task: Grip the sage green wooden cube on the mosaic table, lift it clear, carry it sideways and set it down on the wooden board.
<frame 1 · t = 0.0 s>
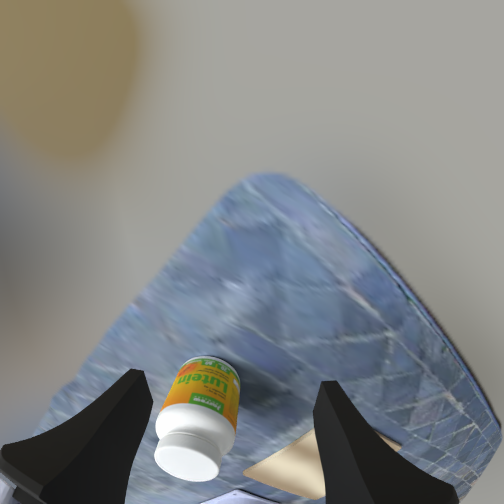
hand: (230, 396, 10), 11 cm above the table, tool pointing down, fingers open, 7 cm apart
wooden board: (325, 463, 24), on the table
supplement bottle: (209, 378, 22), on the table
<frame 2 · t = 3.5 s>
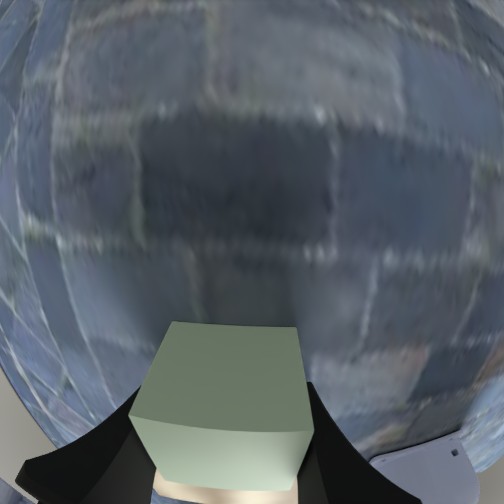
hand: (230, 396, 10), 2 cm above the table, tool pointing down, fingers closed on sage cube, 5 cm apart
sage cube: (233, 370, 11), on the table, touching gripper
wooden board: (225, 481, 16), on the table
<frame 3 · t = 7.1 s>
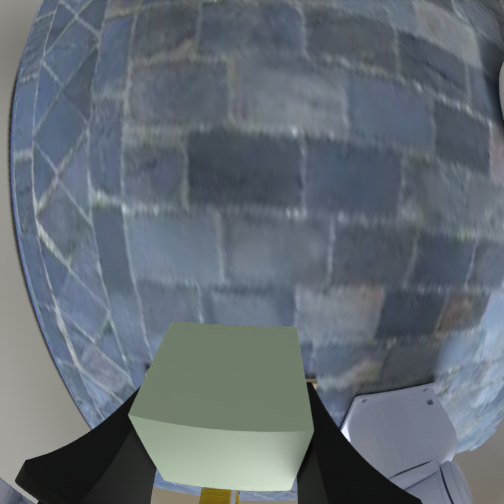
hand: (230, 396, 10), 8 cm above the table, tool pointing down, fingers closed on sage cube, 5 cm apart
sage cube: (233, 370, 11), point 7 cm above the table, touching gripper
supplement bottle: (221, 481, 29), on the table
when the fingers open (3 cm above the table, at t = 10.9 s): sage cube stays where it is, resting on wooden board.
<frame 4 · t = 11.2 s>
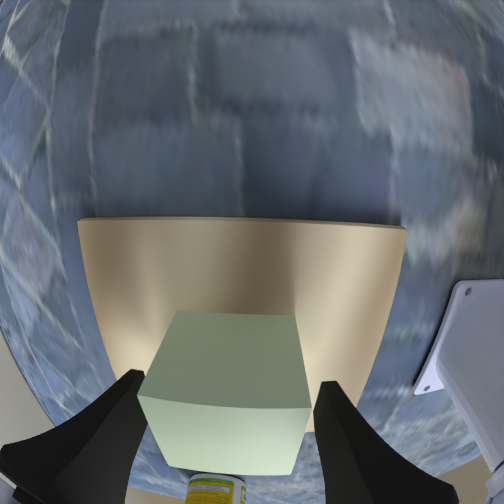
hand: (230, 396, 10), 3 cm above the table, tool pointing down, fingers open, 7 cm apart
sage cube: (235, 358, 12), point 1 cm above the table, touching wooden board
wooden board: (236, 351, 13), on the table
supplement bottle: (218, 480, 19), on the table
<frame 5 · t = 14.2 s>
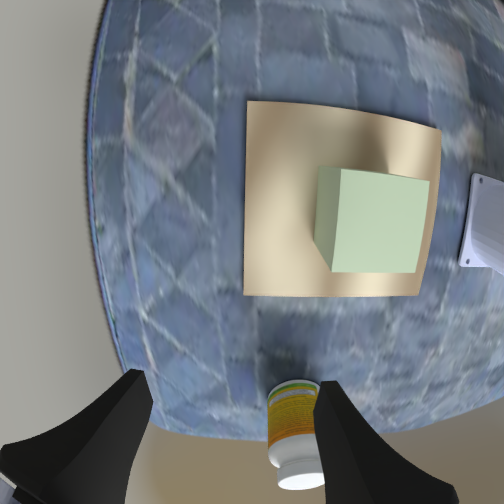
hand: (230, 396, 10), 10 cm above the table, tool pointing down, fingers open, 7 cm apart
sage cube: (352, 206, 17), point 1 cm above the table, touching wooden board
wooden board: (349, 206, 18), on the table
supplement bottle: (295, 394, 24), on the table
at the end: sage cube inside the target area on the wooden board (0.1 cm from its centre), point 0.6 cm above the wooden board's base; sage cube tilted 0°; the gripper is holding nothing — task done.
